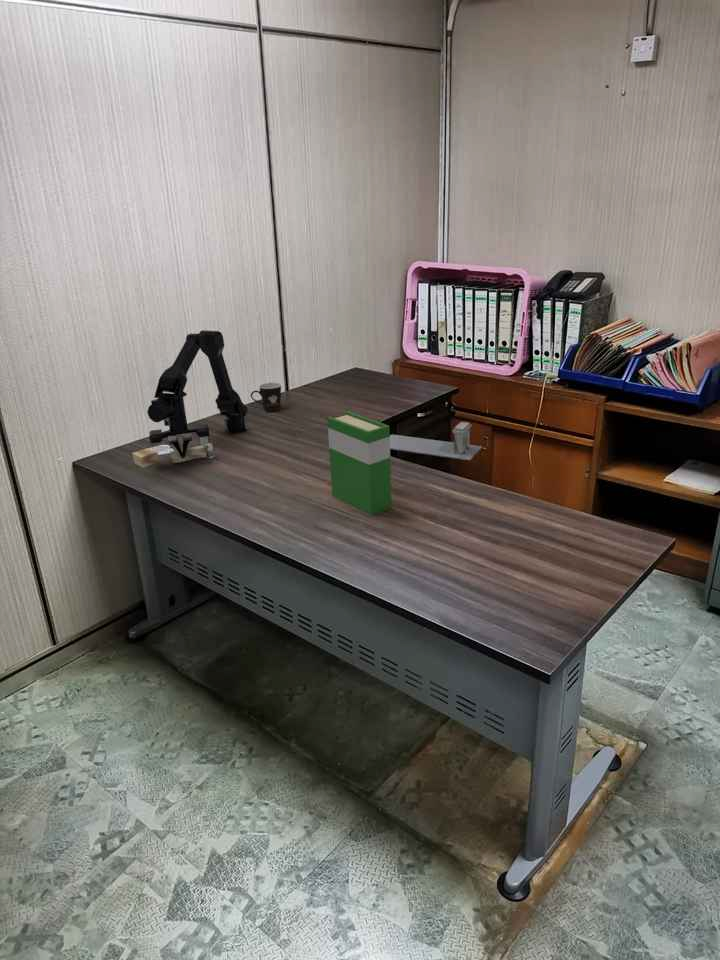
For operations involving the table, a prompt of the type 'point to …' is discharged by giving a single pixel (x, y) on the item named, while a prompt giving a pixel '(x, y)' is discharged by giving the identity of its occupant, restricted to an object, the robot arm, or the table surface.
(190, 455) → the gate rail
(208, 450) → the metal door knob
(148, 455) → the oak block
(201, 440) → the post
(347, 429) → the hardback book
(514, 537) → the table surface
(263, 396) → the coffee mug
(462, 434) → the slab with upright peg
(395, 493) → the table surface
